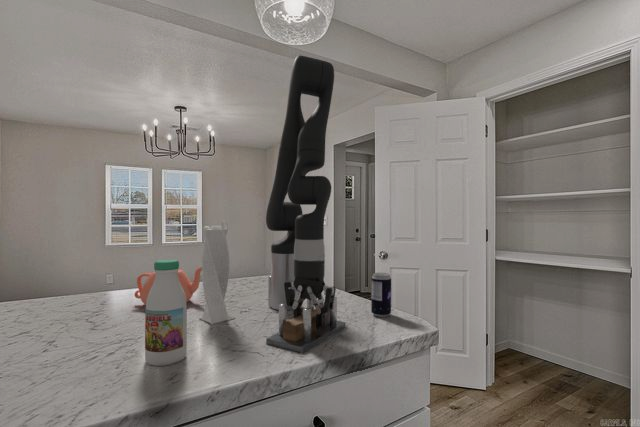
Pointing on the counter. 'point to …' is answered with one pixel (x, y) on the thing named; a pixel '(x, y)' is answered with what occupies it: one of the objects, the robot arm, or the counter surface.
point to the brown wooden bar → (300, 326)
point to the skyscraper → (215, 274)
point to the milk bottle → (166, 316)
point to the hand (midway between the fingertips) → (308, 326)
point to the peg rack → (306, 329)
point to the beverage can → (381, 294)
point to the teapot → (184, 281)
